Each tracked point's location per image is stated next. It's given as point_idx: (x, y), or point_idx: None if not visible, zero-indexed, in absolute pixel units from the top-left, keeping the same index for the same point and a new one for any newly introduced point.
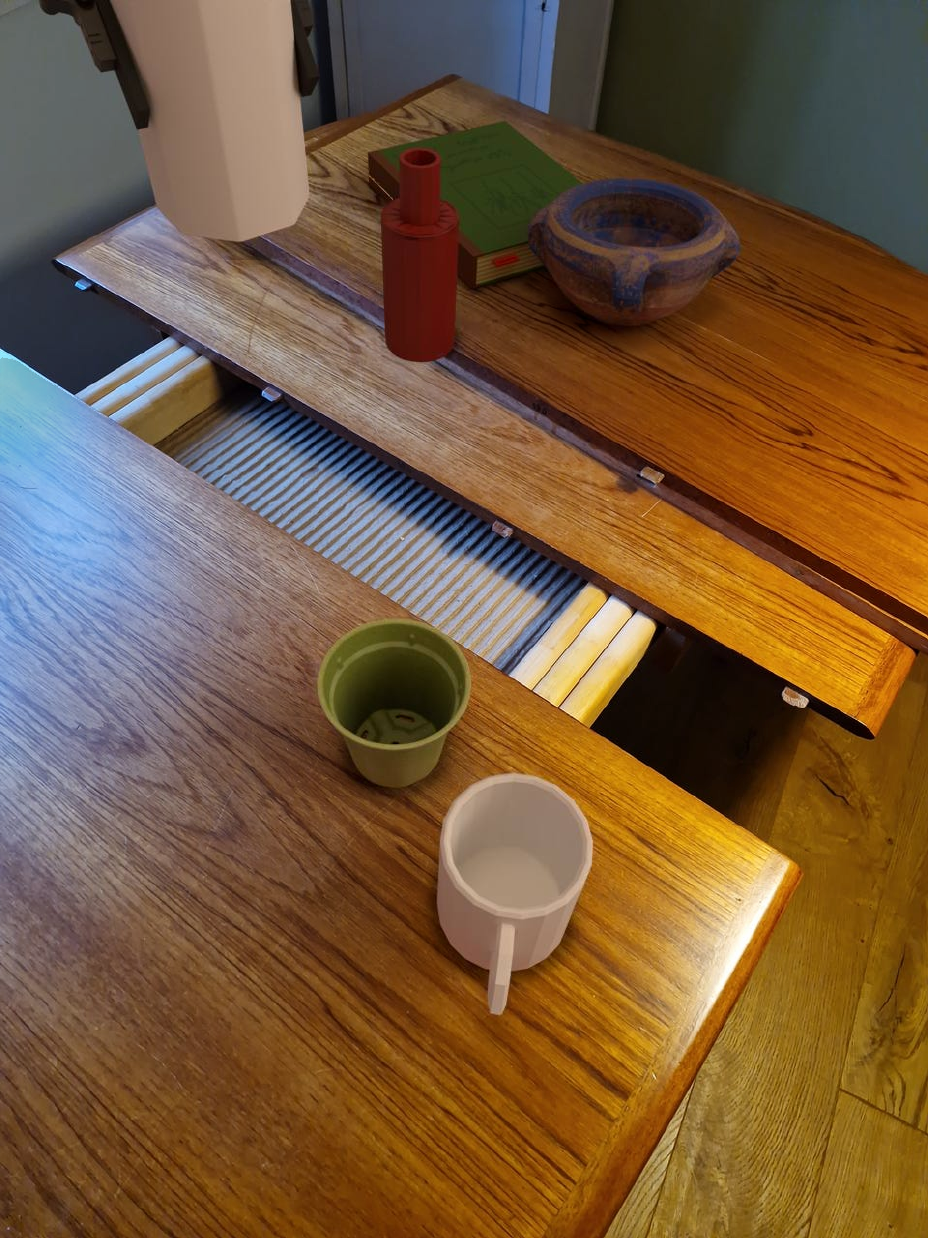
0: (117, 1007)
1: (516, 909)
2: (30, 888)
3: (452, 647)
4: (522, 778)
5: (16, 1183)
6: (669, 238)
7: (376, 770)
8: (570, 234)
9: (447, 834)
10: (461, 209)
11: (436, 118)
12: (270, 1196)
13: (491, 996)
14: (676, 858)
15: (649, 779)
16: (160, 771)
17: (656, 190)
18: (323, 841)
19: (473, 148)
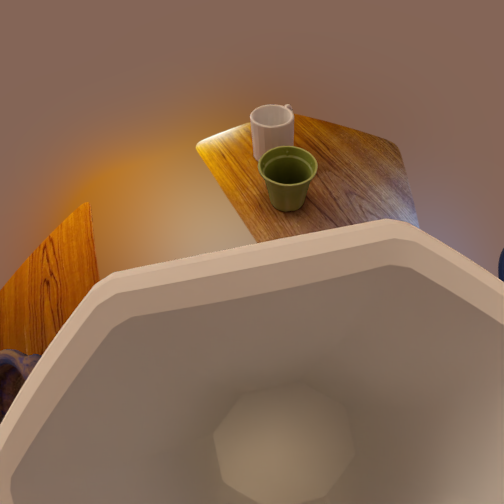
0: (381, 166)
1: (279, 106)
2: (408, 199)
3: (260, 169)
4: (261, 124)
5: (397, 148)
6: (5, 409)
7: (299, 177)
8: None
9: (290, 119)
10: None
11: None
12: (345, 129)
13: (291, 108)
14: (218, 151)
15: (209, 169)
16: (372, 218)
17: None
18: (320, 181)
19: None
